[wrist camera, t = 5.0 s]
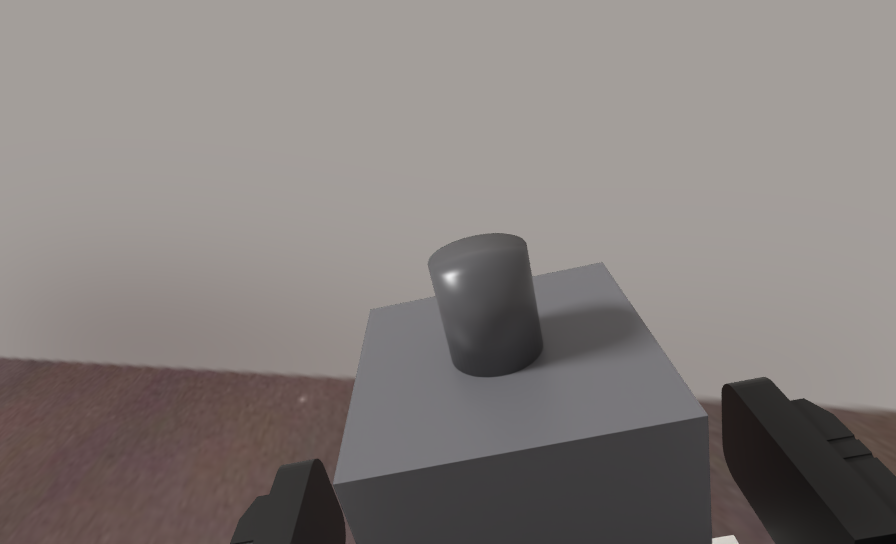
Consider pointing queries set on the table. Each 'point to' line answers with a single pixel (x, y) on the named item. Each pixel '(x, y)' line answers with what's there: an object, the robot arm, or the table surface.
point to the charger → (520, 414)
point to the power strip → (725, 540)
